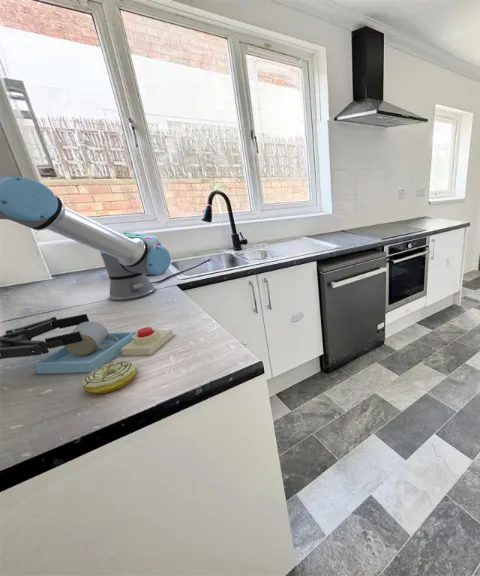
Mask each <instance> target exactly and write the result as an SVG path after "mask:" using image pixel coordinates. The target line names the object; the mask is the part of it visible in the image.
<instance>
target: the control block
mask: <svg viewBox="0 0 480 576" xmlns="http://www.w3.org/2000/svg"><path fill="white" fill-rule="evenodd" d="M152 330H153V334H152V335H149V336H146V337H139V336H138V333H137V332H136V334H134V335H133V337H132V339H133V341H131V342H130V343H128V344H127V345H126V346H124V347H123V348H121V354H122V356H148V355H149V356H150V355H152V354H154V353H155V352H156V351H157V350H158V349H160V348H161V347H162V346H163V345H164V344H165V343H167V342H168V341H169V340H170V339H172V338H173V337H174V333H173V330H172V329H157V328H152Z"/></svg>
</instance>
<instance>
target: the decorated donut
mask: <svg viewBox="0 0 480 576" xmlns="http://www.w3.org/2000/svg"><path fill="white" fill-rule="evenodd" d="M137 369H138V366H137V364H136V363H135V362H132V361H122V360H121V361H120V360H119V361H113V362H108V363H106V364H104V365H103V366H101V367H99V368H97V369H96V370H94V371H92V372H88V374H87V375H86V376H85V377H83V379H82V380H81V386H82V389H83V390H85V391H86V392H87V393H91V394H95V395H101V394H106V393H111V392H113V391H117V390H119V389H122V388H124V387H126V385H128V384H129V383H130V382H131V381H133V380H134V379H135V377H136V375H137Z"/></svg>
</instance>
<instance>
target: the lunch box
mask: <svg viewBox="0 0 480 576" xmlns="http://www.w3.org/2000/svg"><path fill="white" fill-rule="evenodd" d="M121 234H122V235H124V236H126V237H128V238H130V239H133V238H138V239H141V240H143V241H145V242H147V243H149V244H151V245H154V246H155V245H159V246H162V243H161V240H160V239H159V237H157V236H156V235H153V234H146V233H137V232H131V231H129V230H128V231H123V233H121ZM144 274H145V273H144ZM149 275H150V276H151V274H145V276H149Z"/></svg>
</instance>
